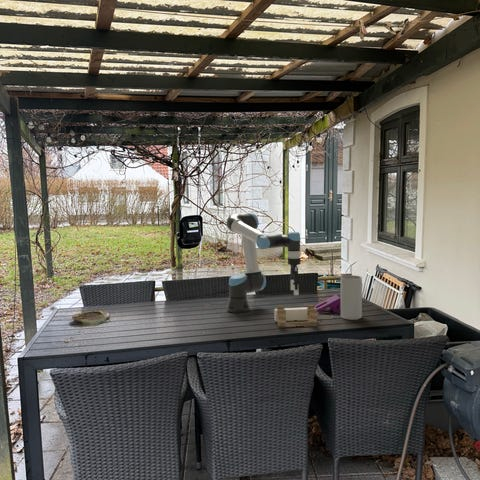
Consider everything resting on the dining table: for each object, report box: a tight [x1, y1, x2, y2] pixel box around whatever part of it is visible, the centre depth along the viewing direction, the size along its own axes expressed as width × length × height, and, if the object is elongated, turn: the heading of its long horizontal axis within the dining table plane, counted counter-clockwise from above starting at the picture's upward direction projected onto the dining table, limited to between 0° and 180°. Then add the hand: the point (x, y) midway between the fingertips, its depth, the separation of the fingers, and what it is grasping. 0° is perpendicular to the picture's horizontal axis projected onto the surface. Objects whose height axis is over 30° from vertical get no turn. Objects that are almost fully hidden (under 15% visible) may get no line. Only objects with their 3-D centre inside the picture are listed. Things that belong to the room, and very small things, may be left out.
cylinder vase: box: [340, 274, 363, 321], centre depth 260 cm, size 12×12×25 cm
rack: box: [276, 304, 318, 328], centre depth 250 cm, size 10×22×10 cm, turn 91°
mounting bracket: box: [314, 294, 341, 314], centre depth 277 cm, size 10×8×18 cm
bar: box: [273, 306, 320, 322], centre depth 259 cm, size 4×27×7 cm, turn 94°
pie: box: [71, 310, 111, 328], centre depth 268 cm, size 28×27×5 cm
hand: (294, 292), depth 258 cm, fingers open, 13 cm apart
